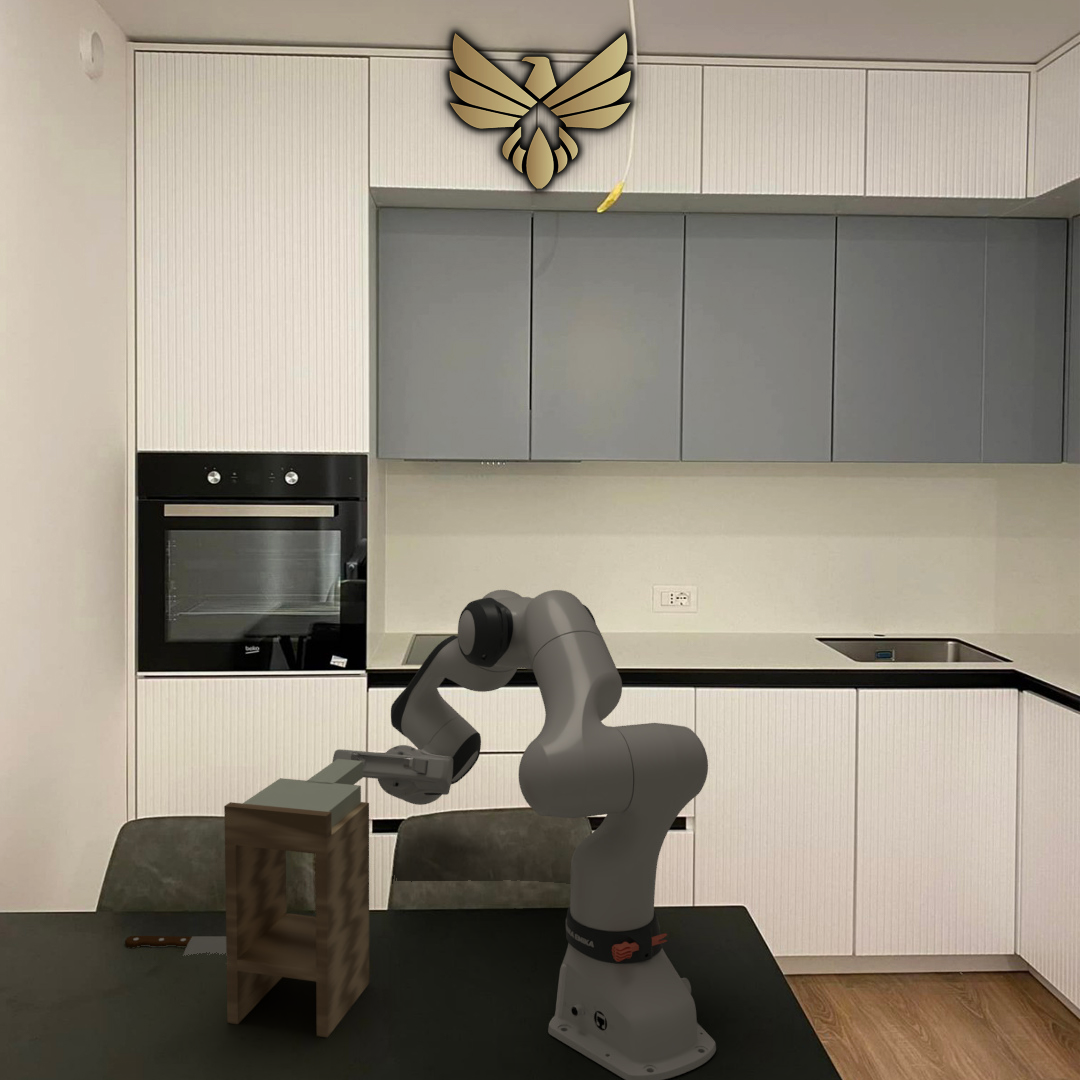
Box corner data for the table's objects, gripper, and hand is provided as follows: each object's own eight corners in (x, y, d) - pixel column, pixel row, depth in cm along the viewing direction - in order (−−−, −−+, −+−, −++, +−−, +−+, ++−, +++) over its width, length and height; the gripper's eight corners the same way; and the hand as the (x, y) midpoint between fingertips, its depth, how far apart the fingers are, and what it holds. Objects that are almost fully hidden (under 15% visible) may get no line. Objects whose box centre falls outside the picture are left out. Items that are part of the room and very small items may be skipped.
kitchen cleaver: (108, 963, 153) (133, 928, 163) (108, 970, 153) (133, 934, 163) (278, 966, 153) (293, 930, 163) (278, 972, 154) (293, 937, 163)
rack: (277, 970, 152) (275, 773, 150) (369, 983, 149) (369, 781, 146) (227, 1022, 139) (224, 806, 136) (327, 1037, 136) (326, 816, 133)
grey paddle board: (312, 773, 159) (312, 756, 159) (388, 779, 157) (388, 763, 156) (239, 824, 138) (239, 805, 138) (325, 833, 135) (325, 813, 135)
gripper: (350, 748, 188) (322, 735, 175) (462, 758, 184) (442, 745, 171) (344, 785, 186) (316, 774, 173) (457, 795, 182) (437, 785, 169)
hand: (380, 759), depth 172 cm, fingers open, 8 cm apart
